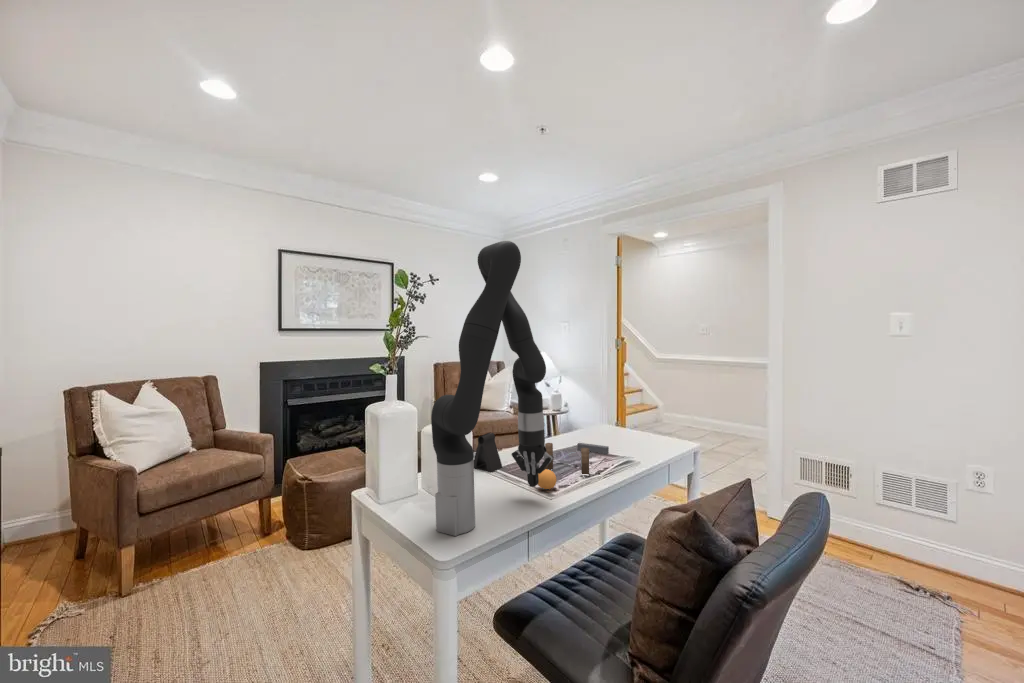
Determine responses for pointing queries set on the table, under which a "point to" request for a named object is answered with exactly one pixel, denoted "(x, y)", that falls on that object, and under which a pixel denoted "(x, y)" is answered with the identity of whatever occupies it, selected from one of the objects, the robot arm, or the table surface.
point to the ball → (547, 479)
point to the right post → (585, 460)
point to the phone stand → (487, 454)
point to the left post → (550, 451)
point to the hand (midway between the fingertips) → (533, 485)
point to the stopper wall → (594, 448)
